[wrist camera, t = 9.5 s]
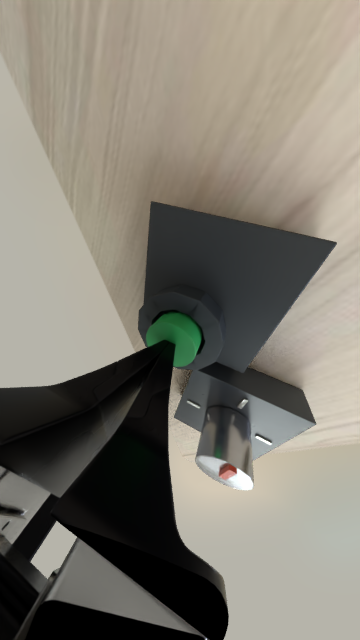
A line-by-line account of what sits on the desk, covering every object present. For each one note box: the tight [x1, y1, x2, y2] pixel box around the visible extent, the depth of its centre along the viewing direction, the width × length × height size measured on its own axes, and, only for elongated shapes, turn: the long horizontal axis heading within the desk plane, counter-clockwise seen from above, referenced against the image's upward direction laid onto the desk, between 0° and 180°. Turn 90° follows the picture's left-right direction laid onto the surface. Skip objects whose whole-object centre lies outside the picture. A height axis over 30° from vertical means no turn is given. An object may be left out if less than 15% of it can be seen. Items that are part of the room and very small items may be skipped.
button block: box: [138, 201, 337, 373], centre depth 11 cm, size 10×11×4 cm
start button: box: [146, 311, 202, 367], centre depth 10 cm, size 4×4×2 cm
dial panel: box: [174, 361, 316, 460], centre depth 16 cm, size 10×10×3 cm
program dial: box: [195, 406, 254, 490], centre depth 13 cm, size 4×4×4 cm
